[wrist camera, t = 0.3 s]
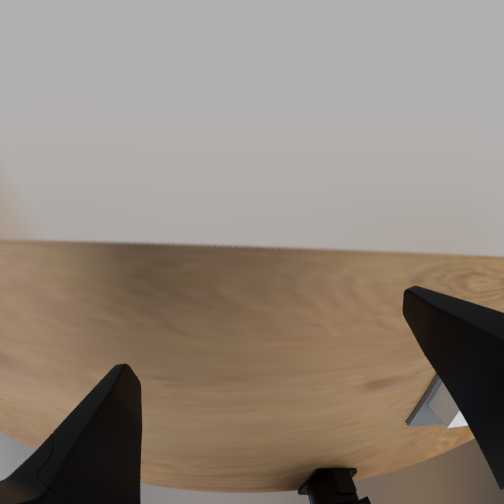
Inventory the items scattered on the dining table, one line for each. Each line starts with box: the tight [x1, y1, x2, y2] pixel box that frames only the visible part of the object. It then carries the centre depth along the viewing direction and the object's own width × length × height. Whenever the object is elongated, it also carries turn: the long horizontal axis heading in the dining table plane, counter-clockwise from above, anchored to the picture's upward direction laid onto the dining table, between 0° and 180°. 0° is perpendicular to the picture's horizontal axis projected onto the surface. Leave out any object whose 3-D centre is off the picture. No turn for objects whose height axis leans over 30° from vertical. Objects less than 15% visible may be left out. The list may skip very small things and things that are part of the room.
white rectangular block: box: [428, 382, 468, 428], centre depth 24 cm, size 6×8×5 cm
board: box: [406, 374, 444, 426], centre depth 27 cm, size 13×17×1 cm
